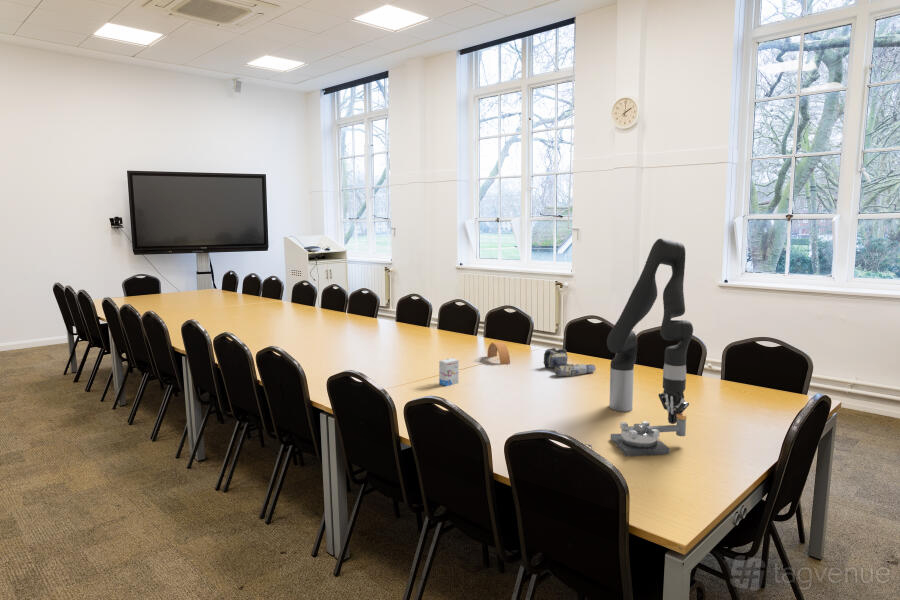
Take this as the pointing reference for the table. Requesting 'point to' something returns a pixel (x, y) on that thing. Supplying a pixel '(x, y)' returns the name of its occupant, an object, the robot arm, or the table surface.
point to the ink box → (448, 371)
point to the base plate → (639, 448)
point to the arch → (502, 352)
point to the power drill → (564, 363)
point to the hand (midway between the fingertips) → (672, 423)
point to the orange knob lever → (650, 432)
